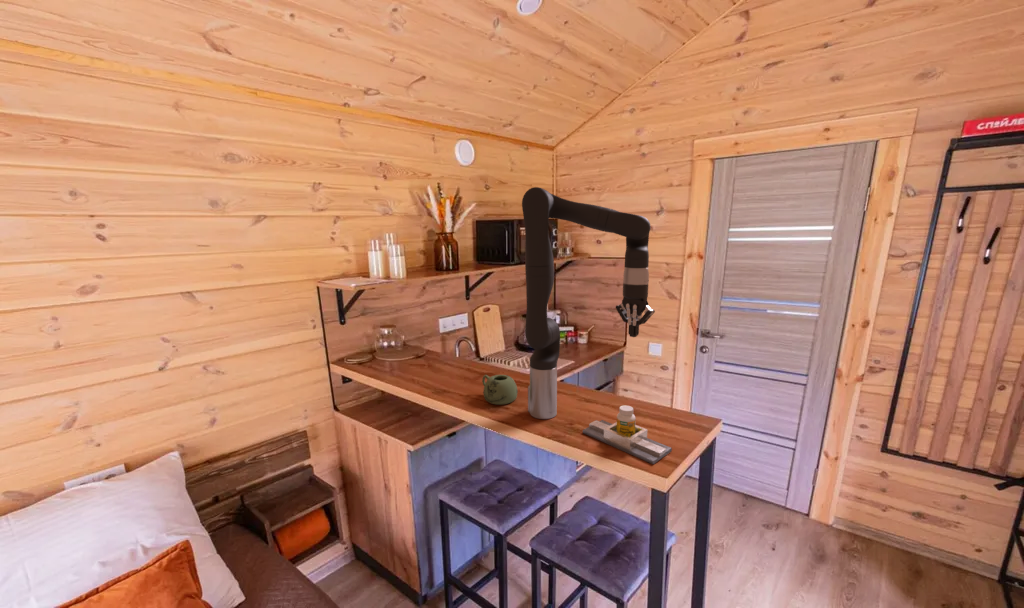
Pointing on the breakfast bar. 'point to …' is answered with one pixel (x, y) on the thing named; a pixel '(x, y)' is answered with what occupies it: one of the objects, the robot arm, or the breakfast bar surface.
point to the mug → (499, 389)
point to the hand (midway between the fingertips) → (633, 336)
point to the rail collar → (628, 441)
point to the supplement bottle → (626, 421)
